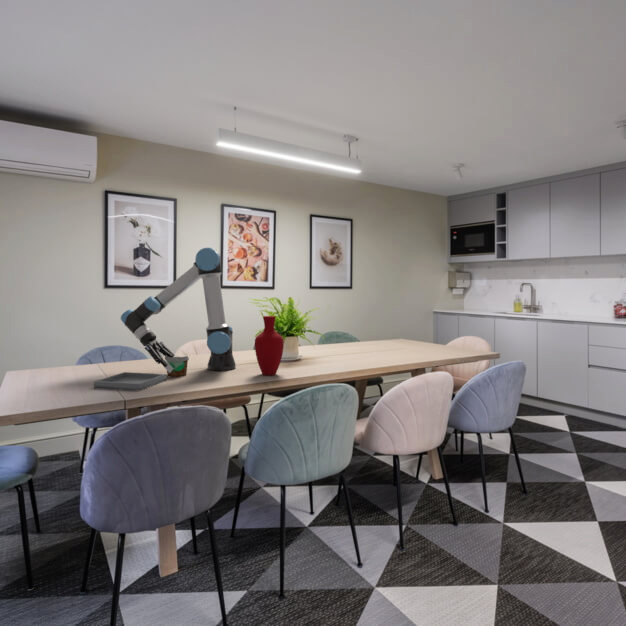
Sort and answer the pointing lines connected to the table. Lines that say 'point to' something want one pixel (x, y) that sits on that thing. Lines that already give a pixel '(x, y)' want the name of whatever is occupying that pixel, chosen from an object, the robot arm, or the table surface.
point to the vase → (269, 347)
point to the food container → (177, 366)
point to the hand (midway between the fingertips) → (175, 369)
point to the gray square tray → (130, 381)
